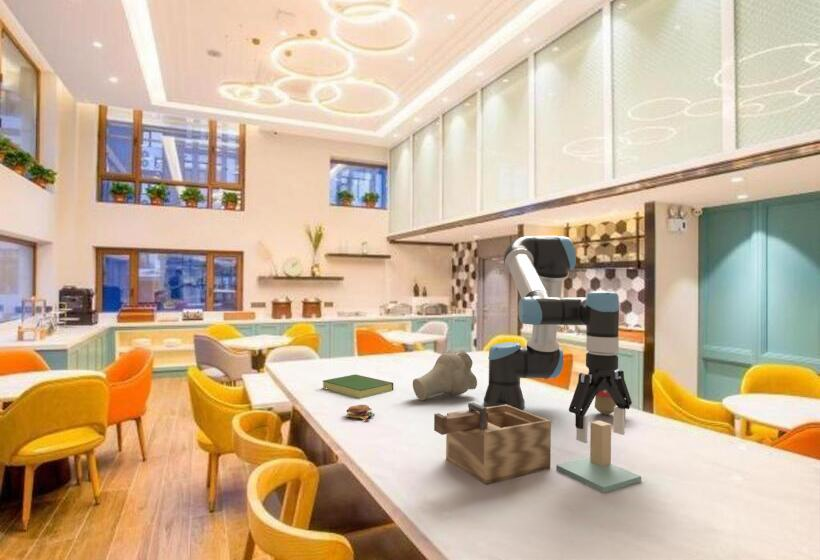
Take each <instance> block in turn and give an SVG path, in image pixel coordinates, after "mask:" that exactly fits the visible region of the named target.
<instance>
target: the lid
mask: <svg viewBox="0 0 820 560" xmlns="http://www.w3.org/2000/svg"><path fill="white" fill-rule="evenodd" d="M589 434H590V442H589V444H590V445H589V447H590V450H589V451H590V453H589V455H590V456H587V457H583V458H580V459H574V460H570V461H566V462H562V463H559V464H558V463H557V464H556V465H555V466H556V467H555V469H556V471H558V472H561V473H562V474H564V475H567V476H568V477H570V478H572V479H574V480H577V481H578V482H581V484H582V483H583V484H584V485H587V486H588V487H591V488H593V489H595V490H597V491H599V492H601V493H608V492H610V491H615V490H618V489H621V488H624V487H627V486H626V485H628V486H630V485H629V484H631V485H634V484H637V483H636V482H638V483H640V482H639V481H641V482H642V476H641V475H640V474H637V473H635V472H632V471H630V470H627V469H625V468H623V467H620V466H618V465H616V464H613V463H612V457H611V456H612V424H611V423H608V422H605V421H602V420H600V419H599V420H598V419H597V420H594V421H590V433H589ZM633 483H634V484H633ZM623 486H624V487H623ZM617 488H618V489H617ZM614 489H615V490H614ZM607 491H608V492H607Z"/></svg>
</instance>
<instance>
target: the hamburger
mask: <svg viewBox="0 0 820 560" xmlns="http://www.w3.org/2000/svg"><path fill="white" fill-rule="evenodd" d="M375 414H376V413H374V412H373V409H372V408H371V407H370V406H369V405H367V404H357V405H352V406H350V407H348V409H346V418H348V417H350V419H354V420H355V419H356V420H363V423H369V422H370V421H371V420H370V419H368V418H369V417H373V416H374V415H375ZM364 420H366V421H364Z"/></svg>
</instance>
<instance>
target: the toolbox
mask: <svg viewBox="0 0 820 560" xmlns="http://www.w3.org/2000/svg"><path fill="white" fill-rule="evenodd" d="M467 408H468V409H465V410H459V411H458V410H457V411H452V412H447V413H446V415H453V414H460V413H466V412H473V411H478V412H480V428H474V429H468V430H462V431H456V432H451V433H447V434H445V435H446V437H445V439H446V440H445V441H446V442H445V459H446V460H447V461H448V462H450V463H451V464H453V465H455V466H457V467H458V468H460V470H463V472H466V473H467V474H469V475H471V476H472V477H474V478H475V479H476V480H478V481H480V482H482V483H483V484H484V485H490V484H493V483H498V482H502V481H506V480H510V479H515V478H518V477H522V476H523V477H524V476H527V475H531V474H534V473H535V474H536V473H539V472H543V471H547V470H551V455H552V454H551V447H552V446H551V445H552V437H551V436H552V420H550V419H548V418H545V417H542V416H539V415H536V414H535V413H534V414H533V413H532V412H528V411H526V410H523V409H518V408H515V407H512V406H509V405H507V404H506V405H499V406H492V407H486V406H484V405H480V404H477V403H475V402H467ZM486 412H487V413H488V426H486Z"/></svg>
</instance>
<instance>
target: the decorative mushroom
mask: <svg viewBox="0 0 820 560" xmlns="http://www.w3.org/2000/svg"><path fill="white" fill-rule="evenodd" d="M591 387H592V386H591ZM592 388H593V387H592ZM594 399H595V400H594V409H596V410H597V411H598V412H599V413H600V414H601V415H606V416H607V415H611V414H614V407H617V406H616V404H615V402H614V401H613V399H612V398H611V396H610V394H609V393H608V391H607V390H603V391H600V392H599V393H598V394H596V396H595V397H594Z"/></svg>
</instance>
